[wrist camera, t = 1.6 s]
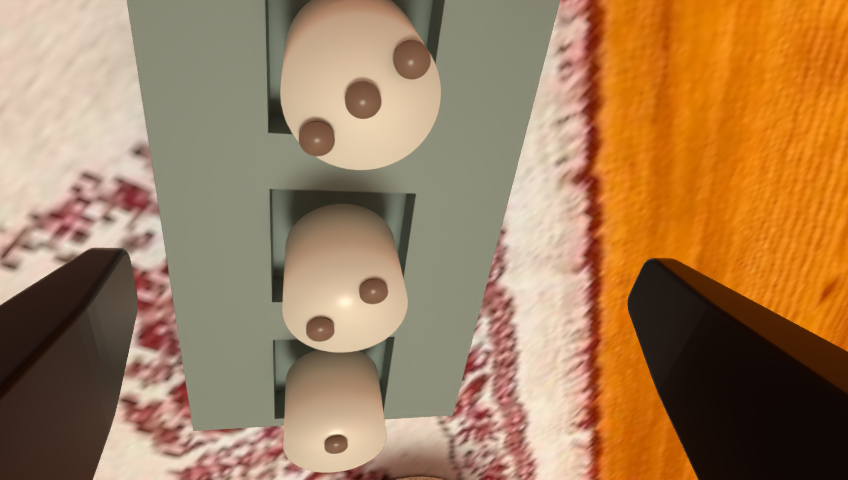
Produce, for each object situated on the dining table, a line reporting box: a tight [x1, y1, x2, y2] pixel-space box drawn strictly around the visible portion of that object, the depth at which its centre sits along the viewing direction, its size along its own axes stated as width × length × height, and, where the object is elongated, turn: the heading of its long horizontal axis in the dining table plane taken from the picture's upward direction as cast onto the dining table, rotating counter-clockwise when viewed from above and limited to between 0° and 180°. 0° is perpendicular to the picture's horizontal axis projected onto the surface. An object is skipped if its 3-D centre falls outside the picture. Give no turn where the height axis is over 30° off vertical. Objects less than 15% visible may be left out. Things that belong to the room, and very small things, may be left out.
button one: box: [283, 349, 387, 473], centre depth 23 cm, size 4×4×3 cm
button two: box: [282, 204, 408, 353], centre depth 19 cm, size 4×4×3 cm
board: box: [127, 0, 560, 431], centre depth 21 cm, size 12×20×2 cm, turn 172°
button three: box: [280, 0, 441, 170], centre depth 15 cm, size 4×4×3 cm
